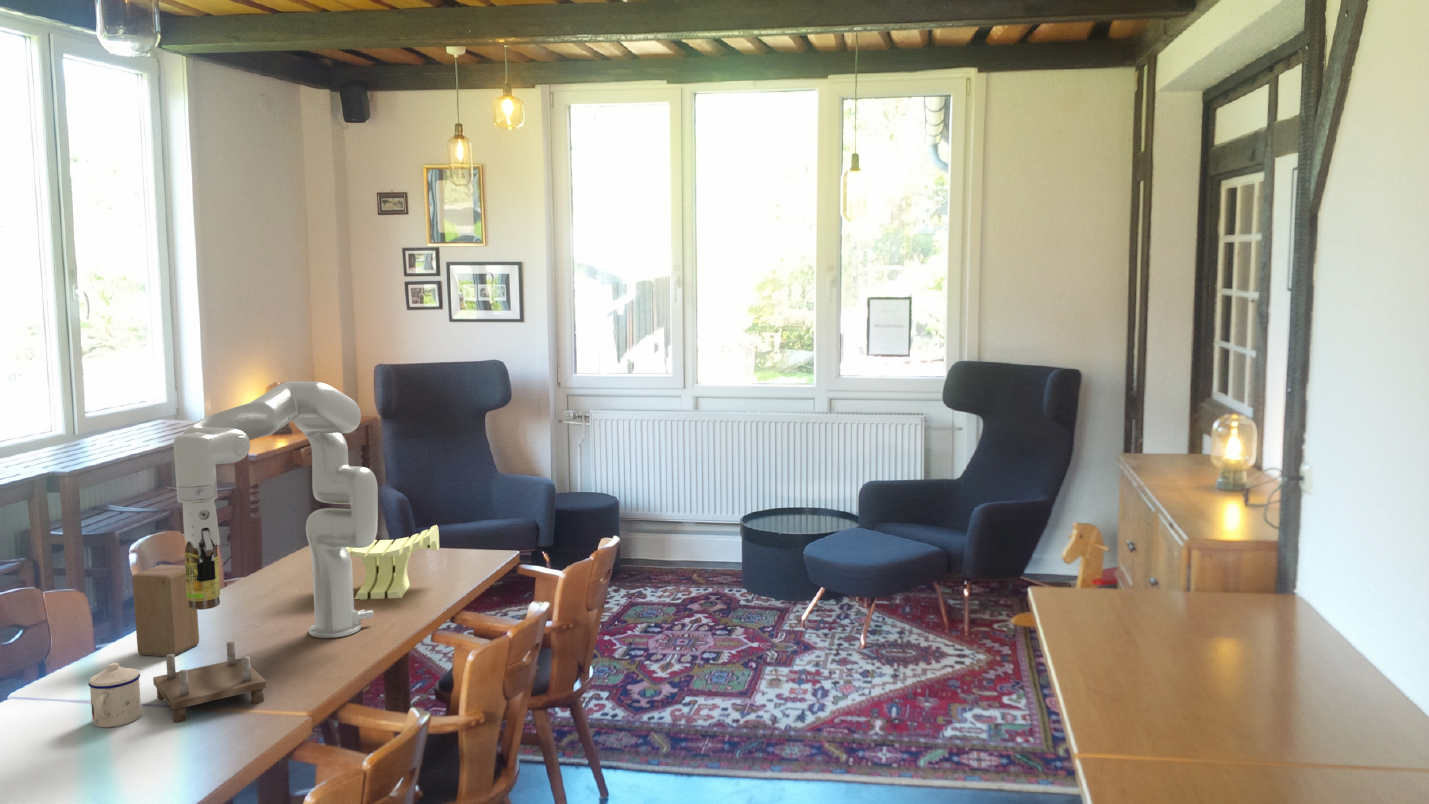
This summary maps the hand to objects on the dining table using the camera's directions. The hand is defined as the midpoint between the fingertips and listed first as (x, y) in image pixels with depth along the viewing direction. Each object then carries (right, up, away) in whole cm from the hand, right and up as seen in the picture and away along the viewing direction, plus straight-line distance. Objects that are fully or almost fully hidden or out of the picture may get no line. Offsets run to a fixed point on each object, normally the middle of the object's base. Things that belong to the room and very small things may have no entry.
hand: (202, 575), depth 218 cm
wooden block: (-25, -24, +34) cm, 48 cm away
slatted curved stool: (+12, -18, +82) cm, 85 cm away
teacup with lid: (-14, -28, -8) cm, 33 cm away
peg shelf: (0, -27, +3) cm, 27 cm away
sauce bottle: (0, -7, +1) cm, 7 cm away
